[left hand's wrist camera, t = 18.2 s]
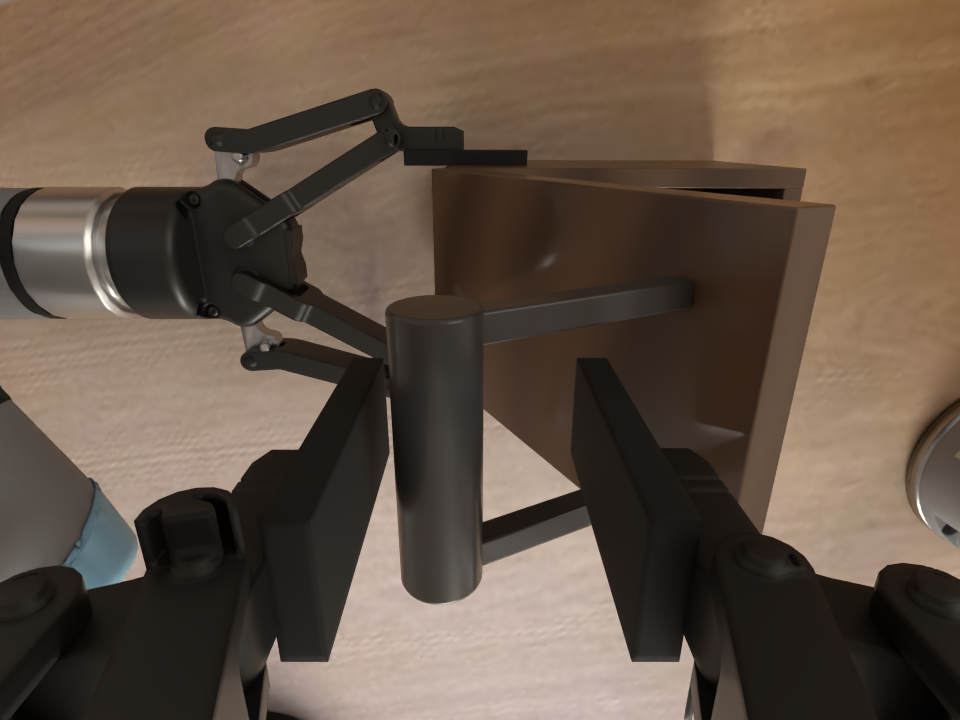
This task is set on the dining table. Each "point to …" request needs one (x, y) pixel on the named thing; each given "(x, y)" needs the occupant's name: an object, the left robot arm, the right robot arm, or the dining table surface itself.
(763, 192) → the chest
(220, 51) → the dining table surface
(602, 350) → the lid
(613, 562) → the left robot arm
